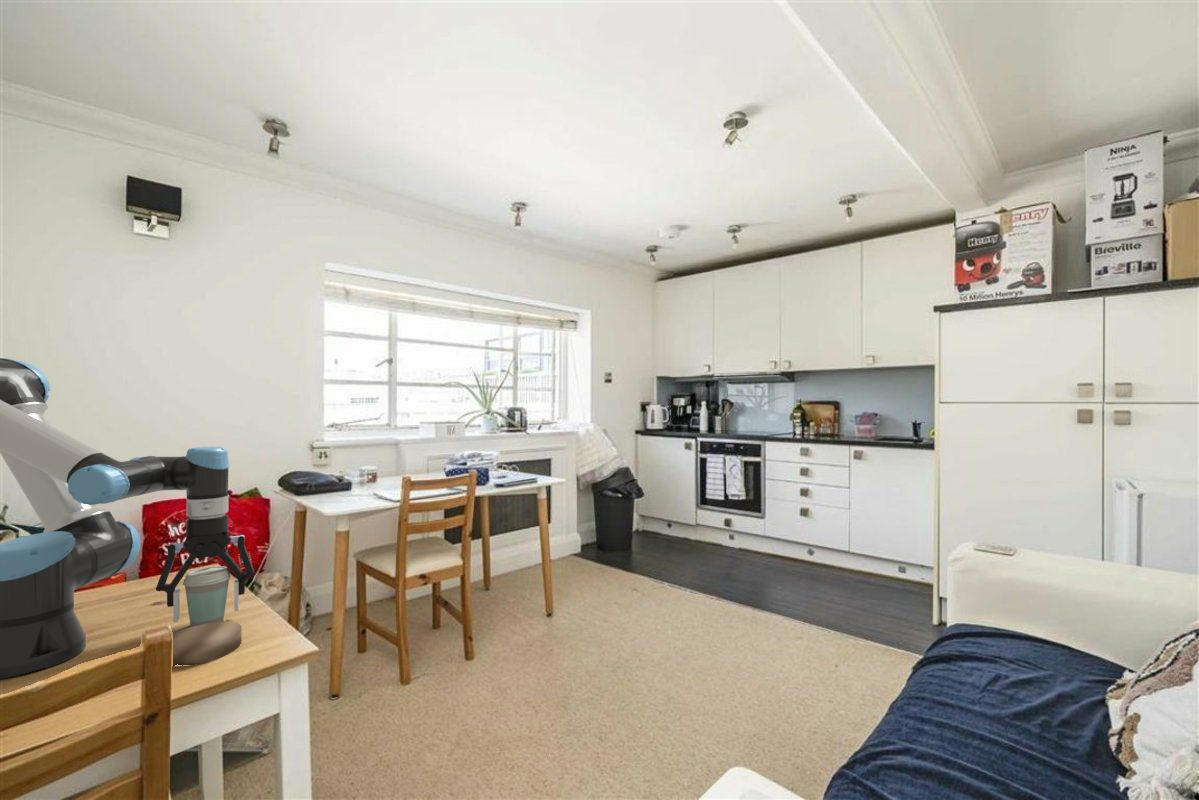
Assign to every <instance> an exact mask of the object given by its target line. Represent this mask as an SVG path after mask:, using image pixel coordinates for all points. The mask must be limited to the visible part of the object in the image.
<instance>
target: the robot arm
mask: <svg viewBox="0 0 1199 800" xmlns="http://www.w3.org/2000/svg"><path fill="white" fill-rule="evenodd" d="M50 391H51V386H50V382H49V380H48V378H47V376H46V375H45V374H44V373H43V372H42V371H41V370H40V369H39V368H37V367H36V366H35V365H33V364H30V363H28V362H24V361H20V360H15V359H10V358H6V357H5V358H2V357H0V455H1V457H2V459H3V460H4V462H5V464H6V465H7V467H8V468H9V470H10V472H11V474H12V475H13V477H14V479H15V480H16V482H17V483H18V485H19V487H20V489H21V490H22V492H23V495H25V497H26V499H27V501H28V502H29V504H30V506H31V508H32V509H33V510H34V512H35V514H36V515H37V517H38V519H39V520H40V522H41V524H42V525H43V527H44V530H43V532H39V533H34V534H31V535H25V536H21V537H16V538H13V539H10V540H7V541H5V542H2V543H0V679H2V680H3V679H8V678H12V677H17V676H23V675H26V674H25V673H27V674H30V673H29V672H31V673H33V672H32V671H34V672H36V671H35V670H38V669H41V670H43V669H42V668H45V669H47V668H50V667H53V666H56V665H58V664H61V663H63V662H65V661H68V660H70V659H73V658H74V657H75V656H78V655H79V654H81V653H82V652H83V651H84V650H85V649H86V647H87V635H86V633H85V630H84V629H83V627H82V625H81V623H80V621H79V618H78V616H77V615H76V612H75V590H78V589H81V588H83V587H86V586H88V585H91V584H93V583H96V582H98V581H100V580H105V579H109V578H111V577H112V576H114V575H116V574H118V573H120V572H122V571H124V570H126V569H127V568H128V567H129V566H131V565H133V563H134V561H135V560H136V559H137V557H138V553H139V552H140V550H141V537H140V536H141V535H140V534H139V532H138V531H137V529H136V528H135V527H134V526H133V525H132V524H130V523H127V522H124V521H120V520H118V521H117V520H116V519H115V518H114V516H113V514H112V513H111V511H110V510H109V509H105V508H100V507H98V506H97V505H100V504H102V505H103V504H110V503H114V502H117V501H120V500H124V499H129V498H132V497H138V496H141V495H147V494H150V493H155V492H163V491H185V492H186V494H185V495H186V509H185V510H186V517H188V518H187V519H186V523H185V524H186V528H185V529H186V530H185V533H186V534H185V540H184V541H183V542H182V541H181V542H177V543H176V542H174V541H173V542H171V543H169V544H168V546H167V548H166V549H167V558H166V561H165V563H164V566H163V567H162V572H161V574H160V576H159V579H158V581H157V584H156V587H155V590H156V592H165V594H166V605H167V607H168V608H170V607H171V608H172V609H173V610H172V611H173V615H172V616H173V618H172V619H173V620H172V623H173V624H174V623H178V622H179V619H180V605H181V604H180V594H181V592H180V587H179V588H178V585H179V583H180V582H181V580H182V579H183V577H184V576H185V574H187V571H188V570H189V569H190V567H191V566H192V564H194V561H195V560H196V559H198V560H203V559H205V558H216V557H217V556H218V557H219V558H220V559H221V560H222V562H223V563H224V564H225V565H226V567H227V568H228V570H229V571H230V572H231V573H232V574H233V575H234V577H235V578H236V579H234V582H233V583H234V591H233V592H234V599H233V601H234V603H233V604H234V606H233V608H234V609H233V610H234V612H239V609H240V608H239V607H240V605H239V604H240V596H241V595H244V594H245V591H246V580H248V579H250V578H252V577H254V575H255V569H254V567H253V566H254V565H253V564H252V562H251V561H252V560H251V558H250V556H249V553H248V551H247V548H246V546H245V539H246V538H245V537H246V536H245V535H244V534H241V533H240V535H234V536H231V535H230V534H229V515H228V514H227V513H229V496H230V495H229V469H230V464H229V462H230V461H229V452H228V449H227V448H225V447H223V446H200V447H198V446H197V447H191V448H189V449H188V450H187V451H186V455H185V456H183V455H182V456H156V455H155V456H154V455H148V456H139V457H138V456H137V457H133V458H131V459H129V460H125V461H119V460H117V459H115V458H112V457H110V456H109V455H107V454H105V453H103V452H100V451H99V450H97V449H95V448H94V447H91V446H89V445H87V444H86V443H84V442H81V441H80V440H79V439H76V438H75V437H72V436H70V435H69V434H66V433H65V432H62V431H61V430H59V429H57V428H55V427H53V426H51V425H50V424H48V423H47V421H46V419H45V417H44V414H45V413H46V411H47V409H48V405H47V403H46V402H47V401H48V399H49V397H50V394H49V392H50ZM231 542H232V544H233V546H235V547H237V550H238V553H239V555H240V559H241V561H242V564H243V566H244V569H245V571H243V570H242V569H241V568H240V566H239V565H238V564H237V563H236V561H235V560H234V559H233V557H232V556H231V555H230V554H229V551H228V550H227V549H226V547H227V546H228V545H229V543H231ZM183 548H184V549H185V550H186V551H187V552H188V553H189V556H188V557H187V558H186V560H185V561H184V563H183V564H182V566H181V567H180V569H179V570H178V572H177V573H176V574H175V576H174V578H173V579H172V580H171V582H169V583H167V581H168V577H169V574H170V572H171V570H172V567H173V565H174V561H175V558H176V557H177V554H179V553H180V551H182V550H181V549H183ZM38 671H39V670H38ZM22 674H23V675H22Z"/></svg>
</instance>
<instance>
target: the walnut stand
mask: <svg viewBox="0 0 1199 800" xmlns="http://www.w3.org/2000/svg"><path fill="white" fill-rule="evenodd" d="M172 634H173V667H172V668H175V667H174V666H175V665H177V664H178V665H182V666H183V665H192V666H196V665H195V664H197V665H201V664H200V663H202V664H205V662H206V663H209V662H211V661H215V660H217V659H220V658H223V657H225V656H227V655H229V654H231V653H232V652H234V651H235V649H236V650H237V649H238V648H239V647H240V646H241V645H242V634H243V633H242V625H241V624H240V623H238V622H234V621H223V622H214V623H207V624H202V625H198V626H194V627H191V626H190V627H187V628H184V629H181V630H179V631H176V632H174V633H172ZM240 644H241V645H240Z"/></svg>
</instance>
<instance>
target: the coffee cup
mask: <svg viewBox="0 0 1199 800" xmlns="http://www.w3.org/2000/svg"><path fill="white" fill-rule="evenodd" d="M231 577H232V575H231V571H230V569H229V568H228V566H225V565H224V566H222V565H221V566H220V565H216V566H207V567H201V568H197V569H195V570H192V571H189V572H188V573H187V572H186V575H185V577H184V580H183V583H182V585H183V586H184V589H185V596H186V602H187V611H188V617H189V618H188V619H189V625H190V627H194V626H198V625H202V624H207V623H214V622H224V621H225V620H224V619H225V613H226V612H225V611H226V604H227V597H228V590H229V589H228V588H229V583H230V578H231Z"/></svg>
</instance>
